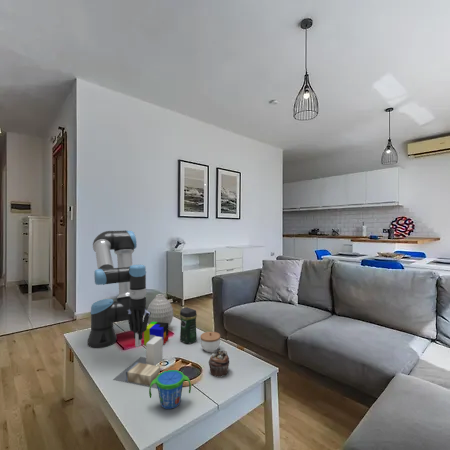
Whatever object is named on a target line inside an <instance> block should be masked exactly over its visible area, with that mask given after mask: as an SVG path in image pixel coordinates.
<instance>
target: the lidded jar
mask: <svg viewBox="0 0 450 450" xmlns="http://www.w3.org/2000/svg"><path fill="white" fill-rule="evenodd" d="M199 339H200V345H201V347H202V349H203V350H204V352H207V353H209V354H210V353H211V354H213V352H215V351H217V350H218V349H219V347H220V344H221V333H219V332H216V331H206V332H203V333H201V334H200V337H199Z"/></svg>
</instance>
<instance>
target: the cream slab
mask: <svg viewBox="0 0 450 450" xmlns="http://www.w3.org/2000/svg"><path fill="white" fill-rule="evenodd" d="M163 346H164V345H163V337H157V336H155V337H154V338H152V339H151V340H150V341H148V342H147V343H146V347H145V353H146V354H145V358H146V364H149V365H154V366H155V365H156V364H157V363H159V362H160V361H162V360H163V358H164V357H163V352H164V351H163V349H164V348H163ZM163 361H164V360H163Z"/></svg>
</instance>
